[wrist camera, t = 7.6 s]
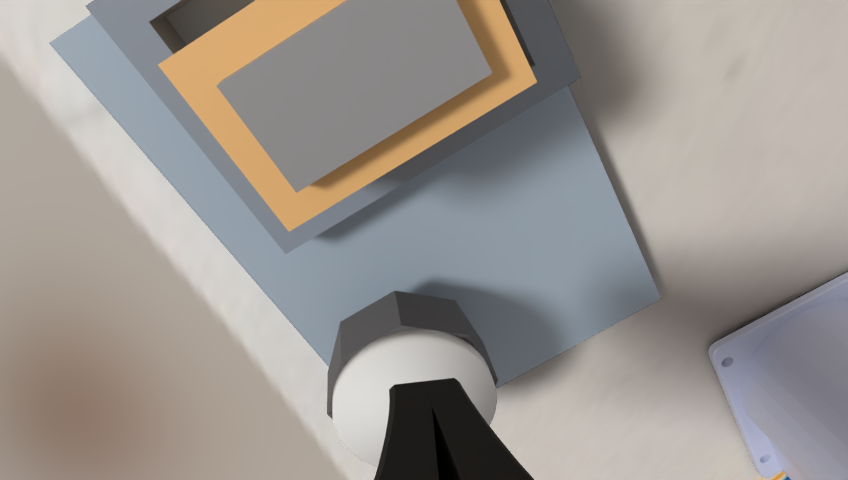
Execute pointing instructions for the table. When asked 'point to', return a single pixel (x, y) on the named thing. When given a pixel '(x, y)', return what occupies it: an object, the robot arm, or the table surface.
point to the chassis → (399, 197)
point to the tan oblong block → (344, 88)
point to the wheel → (401, 364)
